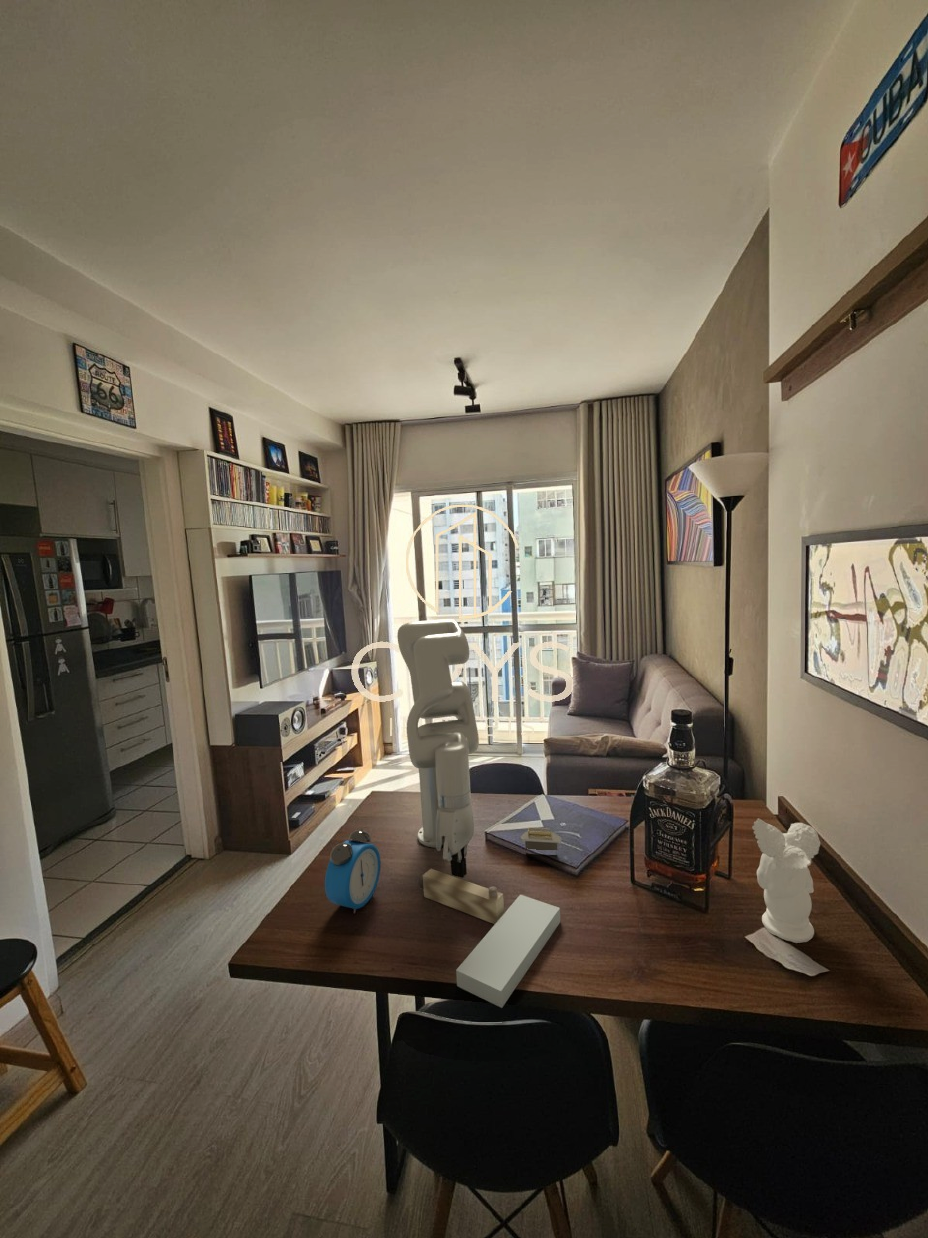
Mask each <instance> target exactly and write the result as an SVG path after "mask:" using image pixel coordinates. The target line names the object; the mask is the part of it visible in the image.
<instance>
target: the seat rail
mask: <svg viewBox="0 0 928 1238" xmlns="http://www.w3.org/2000/svg"><path fill="white" fill-rule="evenodd" d="M560 923H561V907H558V906H555V905H552V904H549V903H546V902H543V901H540V900H537V899H535V898H532V897H529V896H527V895H524V894H519V896H517V898H516V899H515V900H514V901H513V903H512V904H511V905H510V906H509V907H508V908H507V910H506V911H504V914H503V916H502V917H501V918H500V919H499V920H498V921H497V923H496V924H493V926H492V927H491V928H490V930H489V931H488V932H487V933H486V934H485V936H484V937H483V938H482V939H481V940H480V941H479V943H478V944H476V946H475V947H474V949H473V950H472V951H471V952H470V953H469V954H468V956H467V957H466V958H465V959H464V960H463V961H462V963H461V964H459V966H458V967H457V968H456V970H455V972H456V986H457V987H458V988H460V989H462V990H463V991H466V992H468V993H470V994H472V995H475V996H476V997H478V998H481V999H483V1000H485V1001H487V1002H488V1003H490V1004H493V1005H495V1006H496V1007H499V1008H501V1009H502V1008H503V1007H504V1006H505V1004H506V1003H507V1002H508V1000H509V998H510V997H511V995H513V992H514V991H515V989H516V988H517V986H519V983H520V982H521V981H522V979H523V978H524V977H525V975H526V973H527V972H528V971H529V969H530V968H531V966H532V964H533V962H534V961H535V960H536V959H537V957H538V956H539V954H540V952H541V951H542V950H543V948H544V947H545V945H546V944H547V942H548V941H549V939H550V938H551V936H552V935H553V934H554V933H555V931H556V929H557V927H559V925H560Z"/></svg>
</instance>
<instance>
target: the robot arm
mask: <svg viewBox="0 0 928 1238" xmlns="http://www.w3.org/2000/svg"><path fill="white" fill-rule="evenodd" d="M396 638H397V644H398V647H399V648H398V649H399V651H400V652H399V653H400V654H401V657H402V659H403V661H404V663H405V665H406V667H407V670H408V672H409V676H410V682H411V683H410V684H411V690H412V698H413V705H412V707H411V709H410V712H409V713H408V715H407V719H406V738H407V746H408V755H409V759H410V762H411V764H412V766H414V768H416V769H418V777H419V779H418V780H419V790H420V803H421V820H422V827H420V829H419V830H418V832H417V840H418V842H419V843H420V844H422V845H423V846H426V847H428V848H434V849H436V850H437V852H441V851H442V852H443V853H442V861H446V862H450V873H451V876H454V877H456V878H460V879H463V878H464V877H465V876H466V875H467V874H468V871H467V858H466V857H467V856H468V844H469V842H470V841H471V840H472V839H473V837H474V835H475V823H474V821H475V820H474V812H473V806H472V797H471V795H472V793H471V779H470V778H471V775H470V762H469V760H470V759H469V758H470V757H469V755H471V754H474V753H476V751H477V750H479V745H480V739H479V732H478V726H477V719H476V713H475V710H474V708H475V707H474V704H473V698H472V693H471V690H470V688H469V687H468V685H467V684H466V683H465V682H463V681H458V680H457V681H452V676H451V671H450V666H456V665H463V664H466V663H467V662H468V661H469V658H470V646H469V642H468V639H467V636H466V634H465V632H464V631H463V629H462V627H461V626H460V624H459V623H458V621H457V620H456V619H453V618H445V619H441V618H440V619H432V620H431V619H429V620H416V621H410V622H407V623H403V624H402V625H400V626H399V628H398V630H397V637H396ZM448 717H449V718H450V717H454V718H456V719H455V720H454V719H453V720H445V721H436V722H429V723H425V724H421V725H420V726H419V721H420V718H421V719H424V720H431V719H434V720H435V719H442V718H448Z"/></svg>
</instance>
